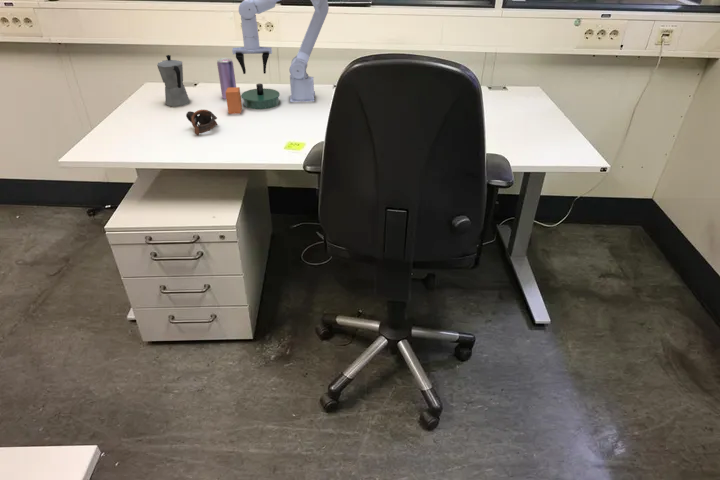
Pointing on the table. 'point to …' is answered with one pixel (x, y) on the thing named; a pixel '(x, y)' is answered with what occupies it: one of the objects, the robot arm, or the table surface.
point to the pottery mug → (202, 120)
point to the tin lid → (260, 94)
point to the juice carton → (233, 100)
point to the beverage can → (226, 74)
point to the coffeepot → (173, 82)
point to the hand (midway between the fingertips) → (254, 73)
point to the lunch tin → (261, 104)
